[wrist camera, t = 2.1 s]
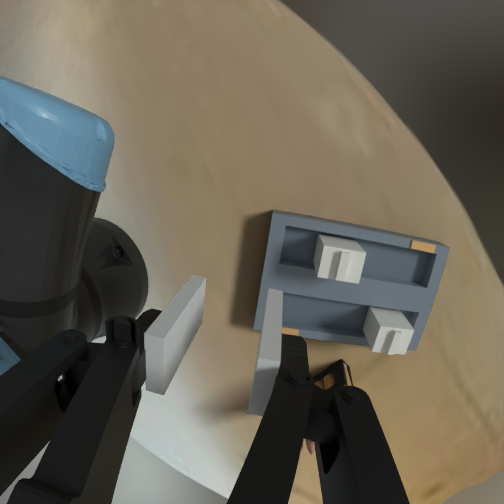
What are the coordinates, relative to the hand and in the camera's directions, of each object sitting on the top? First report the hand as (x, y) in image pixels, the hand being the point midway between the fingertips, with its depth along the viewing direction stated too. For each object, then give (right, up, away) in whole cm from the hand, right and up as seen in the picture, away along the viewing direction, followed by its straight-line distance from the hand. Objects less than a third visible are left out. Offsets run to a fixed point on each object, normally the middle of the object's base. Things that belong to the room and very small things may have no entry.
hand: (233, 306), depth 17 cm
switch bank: (+12, 0, +18) cm, 22 cm away
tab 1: (+10, +3, +16) cm, 19 cm away
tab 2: (+16, -5, +17) cm, 24 cm away
